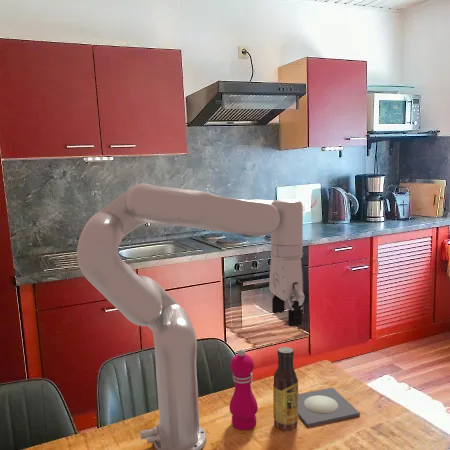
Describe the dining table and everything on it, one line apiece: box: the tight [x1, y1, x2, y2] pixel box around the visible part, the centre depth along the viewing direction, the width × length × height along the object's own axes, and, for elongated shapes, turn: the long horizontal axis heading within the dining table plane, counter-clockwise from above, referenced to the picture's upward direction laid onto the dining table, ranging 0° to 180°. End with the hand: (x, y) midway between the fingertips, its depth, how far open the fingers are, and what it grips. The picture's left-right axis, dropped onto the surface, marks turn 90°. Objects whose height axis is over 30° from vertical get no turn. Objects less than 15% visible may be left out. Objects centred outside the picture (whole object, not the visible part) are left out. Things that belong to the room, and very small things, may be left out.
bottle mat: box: [298, 387, 361, 428], centre depth 121 cm, size 15×14×1 cm
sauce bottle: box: [272, 346, 299, 431], centre depth 113 cm, size 7×6×20 cm
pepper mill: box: [229, 348, 259, 431], centre depth 114 cm, size 7×7×20 cm
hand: (286, 318), depth 111 cm, fingers open, 9 cm apart
